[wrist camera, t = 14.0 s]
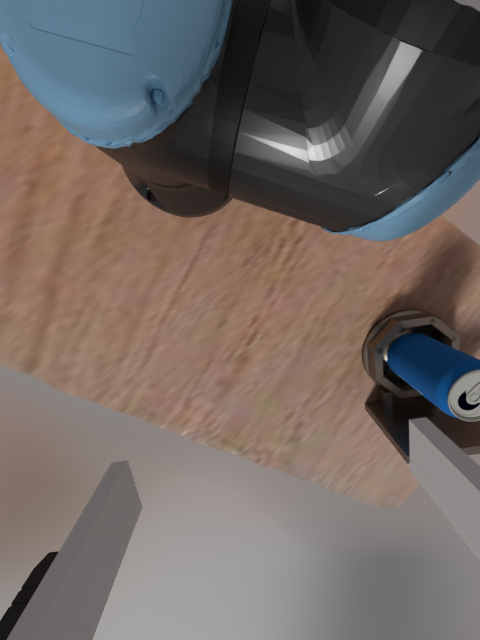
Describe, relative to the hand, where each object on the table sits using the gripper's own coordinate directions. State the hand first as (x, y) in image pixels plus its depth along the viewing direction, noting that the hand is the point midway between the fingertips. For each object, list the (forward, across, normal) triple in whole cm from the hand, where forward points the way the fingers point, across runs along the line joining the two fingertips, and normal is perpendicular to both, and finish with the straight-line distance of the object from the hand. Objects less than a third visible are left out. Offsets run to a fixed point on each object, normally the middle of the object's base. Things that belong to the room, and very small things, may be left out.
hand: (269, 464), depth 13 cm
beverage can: (+26, +21, -8) cm, 34 cm away
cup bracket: (+27, +21, -9) cm, 35 cm away
